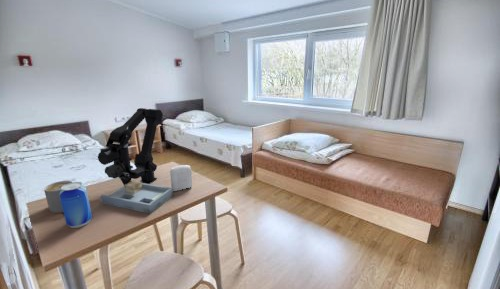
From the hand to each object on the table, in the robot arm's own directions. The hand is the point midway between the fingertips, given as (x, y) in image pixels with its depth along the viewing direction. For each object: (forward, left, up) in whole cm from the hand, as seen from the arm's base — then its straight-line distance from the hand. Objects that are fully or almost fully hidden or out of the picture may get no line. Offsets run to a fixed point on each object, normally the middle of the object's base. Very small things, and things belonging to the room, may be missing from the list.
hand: (126, 187), depth 121 cm
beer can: (+25, 0, -3) cm, 26 cm away
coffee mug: (+19, -16, -3) cm, 25 cm away
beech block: (0, +4, -1) cm, 4 cm away
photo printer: (-13, +22, -3) cm, 26 cm away
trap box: (+3, +9, -3) cm, 10 cm away
